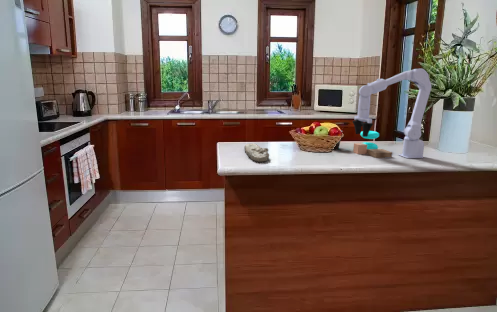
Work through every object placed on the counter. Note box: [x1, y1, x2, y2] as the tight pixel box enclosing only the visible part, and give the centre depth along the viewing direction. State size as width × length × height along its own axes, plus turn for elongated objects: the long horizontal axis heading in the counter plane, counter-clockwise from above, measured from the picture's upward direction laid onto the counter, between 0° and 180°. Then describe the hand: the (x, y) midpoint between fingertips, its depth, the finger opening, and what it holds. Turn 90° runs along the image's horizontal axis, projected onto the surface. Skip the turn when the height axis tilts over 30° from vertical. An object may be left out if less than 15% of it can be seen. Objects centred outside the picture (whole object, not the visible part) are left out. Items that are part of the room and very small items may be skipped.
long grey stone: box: [244, 143, 270, 163], centre depth 180 cm, size 35×5×10 cm
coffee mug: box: [333, 130, 344, 150], centre depth 198 cm, size 12×9×10 cm
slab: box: [365, 148, 393, 159], centre depth 183 cm, size 9×9×3 cm
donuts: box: [359, 130, 380, 149], centre depth 198 cm, size 10×10×10 cm
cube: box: [352, 142, 367, 155], centre depth 188 cm, size 5×5×5 cm
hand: (361, 135), depth 185 cm, fingers open, 7 cm apart
